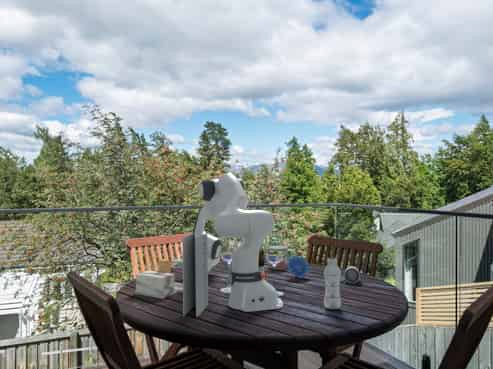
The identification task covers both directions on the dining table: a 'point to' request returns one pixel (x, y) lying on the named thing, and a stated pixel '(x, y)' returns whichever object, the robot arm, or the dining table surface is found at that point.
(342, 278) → the ceramic mug
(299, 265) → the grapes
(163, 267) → the tan rectangular block
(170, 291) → the block
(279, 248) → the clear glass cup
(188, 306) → the brochure
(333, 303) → the plastic bottle
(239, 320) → the dining table surface
